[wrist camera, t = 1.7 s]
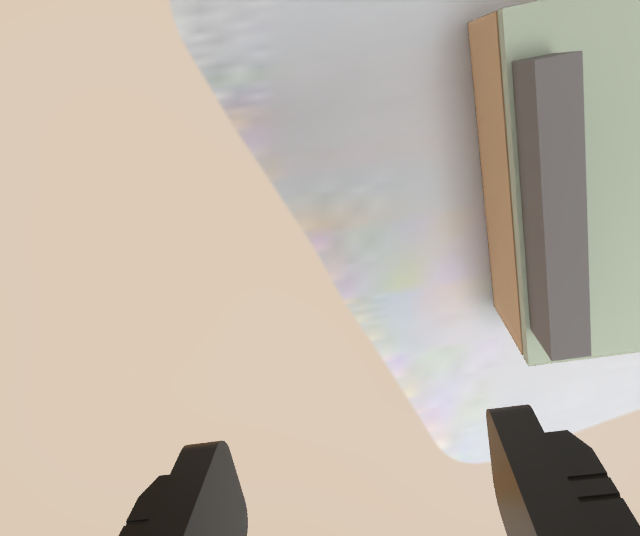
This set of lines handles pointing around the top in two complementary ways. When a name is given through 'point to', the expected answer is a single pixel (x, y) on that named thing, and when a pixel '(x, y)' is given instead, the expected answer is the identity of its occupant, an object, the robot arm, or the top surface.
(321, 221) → the top surface
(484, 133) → the tray
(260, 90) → the top surface
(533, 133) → the mailer lid
